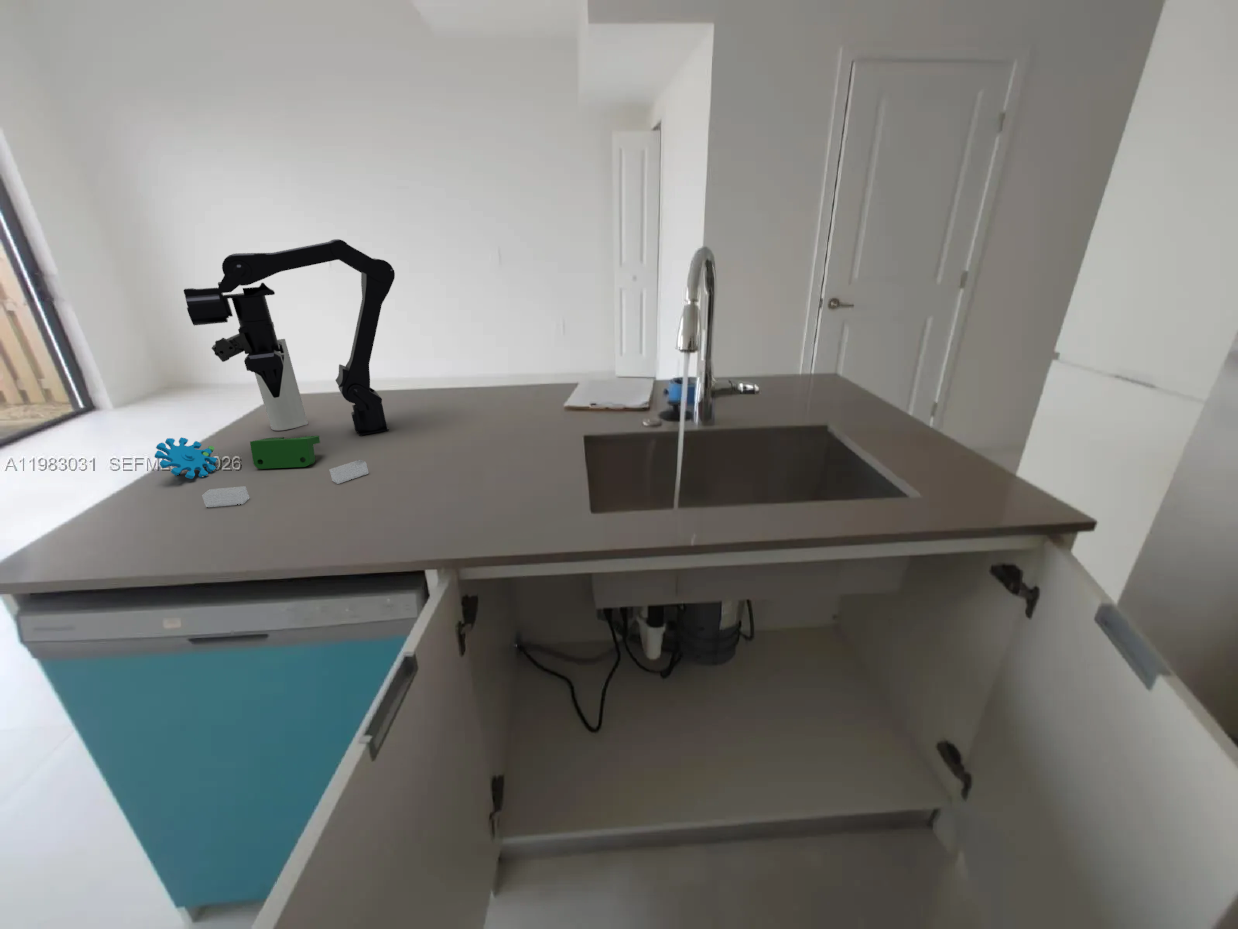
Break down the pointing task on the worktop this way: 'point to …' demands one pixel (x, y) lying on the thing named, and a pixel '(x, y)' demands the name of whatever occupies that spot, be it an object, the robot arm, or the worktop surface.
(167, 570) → the worktop surface
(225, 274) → the robot arm
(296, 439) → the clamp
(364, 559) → the worktop surface
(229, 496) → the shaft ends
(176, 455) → the gear
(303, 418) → the paper towel roll
